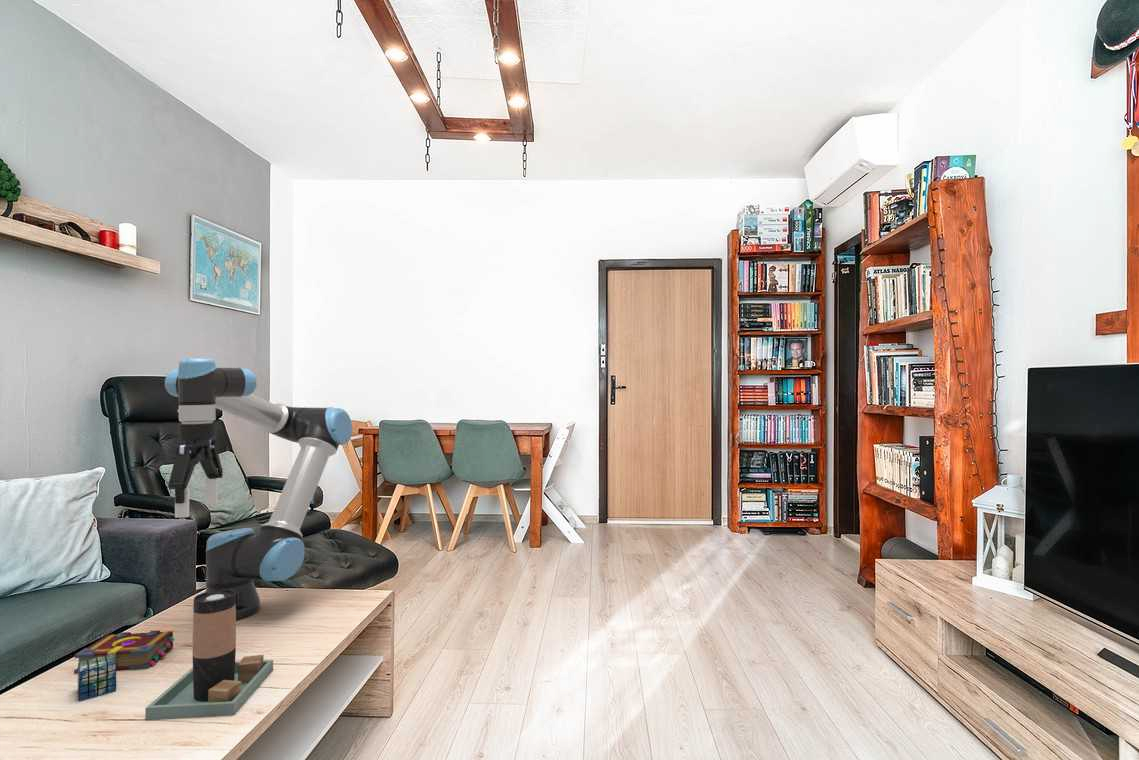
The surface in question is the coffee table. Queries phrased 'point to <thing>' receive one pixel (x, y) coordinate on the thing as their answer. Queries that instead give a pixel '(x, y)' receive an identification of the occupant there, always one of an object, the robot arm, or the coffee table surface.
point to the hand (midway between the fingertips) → (197, 510)
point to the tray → (183, 704)
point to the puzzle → (96, 677)
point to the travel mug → (213, 640)
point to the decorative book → (130, 649)
